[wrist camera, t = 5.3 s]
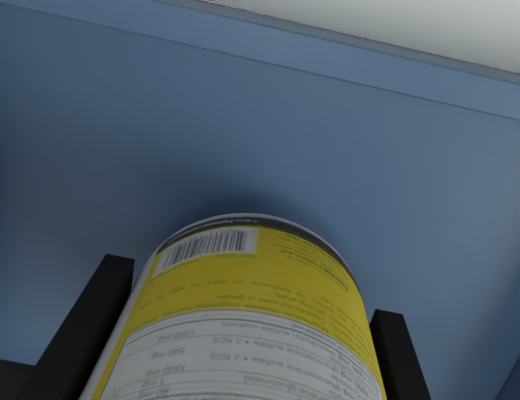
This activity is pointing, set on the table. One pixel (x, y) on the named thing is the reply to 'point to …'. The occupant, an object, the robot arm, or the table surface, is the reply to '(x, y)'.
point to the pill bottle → (241, 320)
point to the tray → (260, 166)
